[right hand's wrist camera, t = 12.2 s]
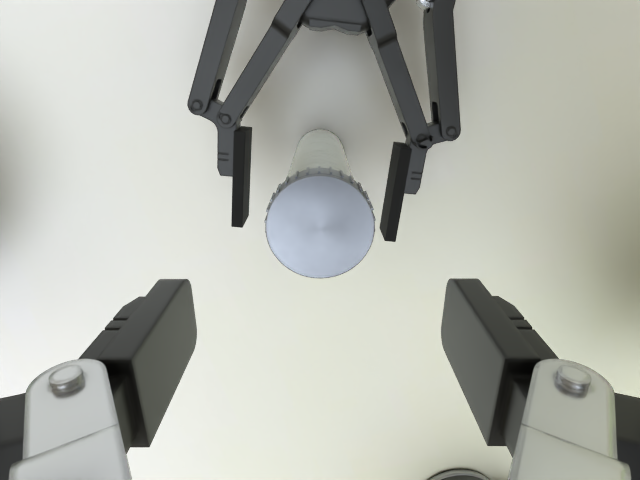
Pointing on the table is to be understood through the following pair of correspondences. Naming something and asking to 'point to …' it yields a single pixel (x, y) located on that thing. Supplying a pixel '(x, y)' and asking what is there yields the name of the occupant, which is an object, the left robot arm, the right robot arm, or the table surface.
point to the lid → (320, 223)
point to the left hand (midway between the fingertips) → (314, 227)
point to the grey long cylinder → (319, 153)
